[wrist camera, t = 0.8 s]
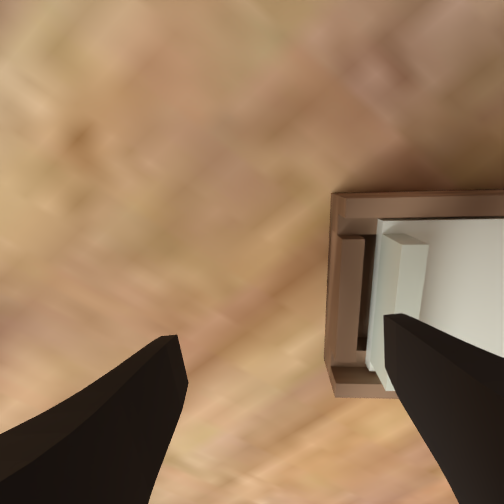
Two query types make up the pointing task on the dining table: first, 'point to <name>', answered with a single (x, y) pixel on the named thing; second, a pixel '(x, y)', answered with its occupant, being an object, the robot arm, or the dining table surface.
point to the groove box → (361, 271)
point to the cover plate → (439, 281)
